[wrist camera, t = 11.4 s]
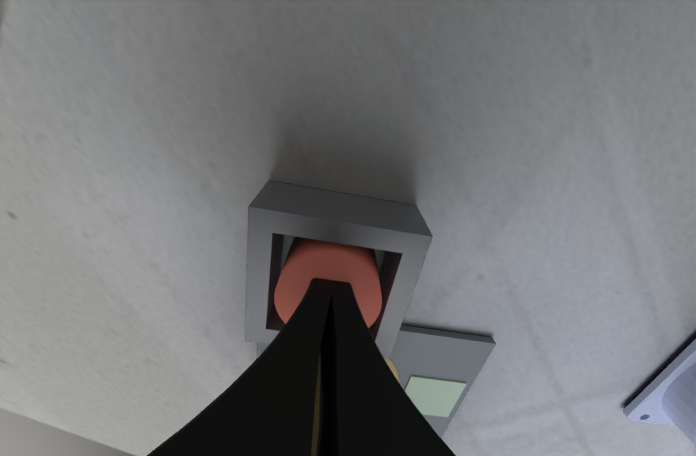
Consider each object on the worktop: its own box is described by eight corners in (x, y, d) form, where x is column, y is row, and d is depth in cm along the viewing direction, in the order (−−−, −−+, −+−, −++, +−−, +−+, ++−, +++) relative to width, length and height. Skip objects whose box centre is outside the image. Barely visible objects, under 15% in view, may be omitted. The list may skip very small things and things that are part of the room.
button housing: (416, 205, 12) (432, 236, 10) (382, 314, 15) (388, 359, 12) (268, 180, 12) (248, 206, 9) (261, 297, 14) (245, 340, 12)
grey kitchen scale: (492, 337, 15) (496, 345, 15) (435, 437, 20) (437, 445, 19) (261, 305, 14) (258, 312, 14) (254, 417, 19) (252, 426, 18)
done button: (385, 232, 12) (393, 267, 10) (366, 304, 14) (369, 346, 11) (291, 217, 12) (278, 249, 9) (283, 292, 13) (270, 333, 11)
